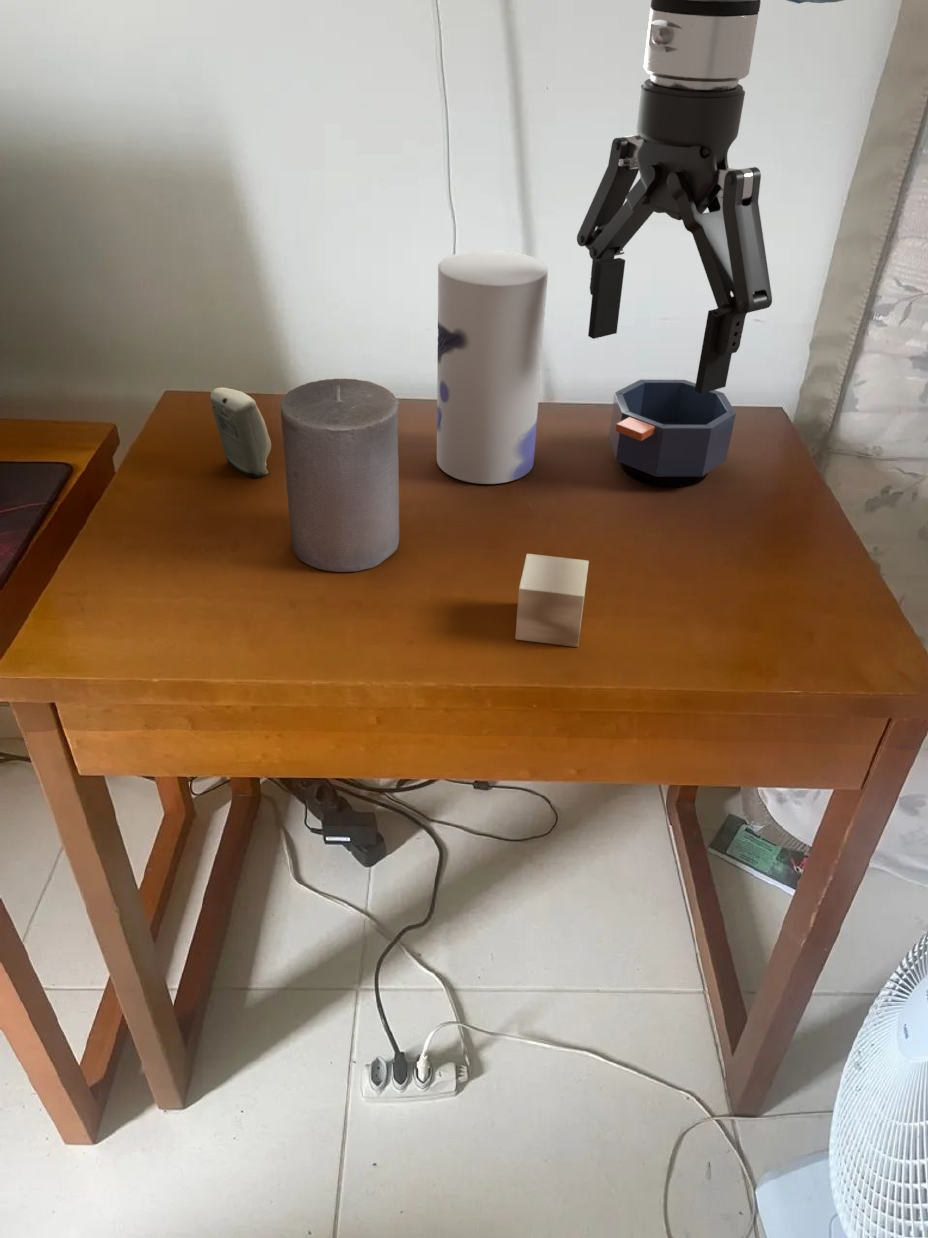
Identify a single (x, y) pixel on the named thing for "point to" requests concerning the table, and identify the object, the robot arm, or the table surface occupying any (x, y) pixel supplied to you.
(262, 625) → the table surface
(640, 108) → the robot arm
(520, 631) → the block
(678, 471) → the bowl
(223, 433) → the off-white long rounded piece
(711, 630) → the table surface
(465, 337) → the container
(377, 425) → the pillar candle
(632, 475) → the bowl foot
